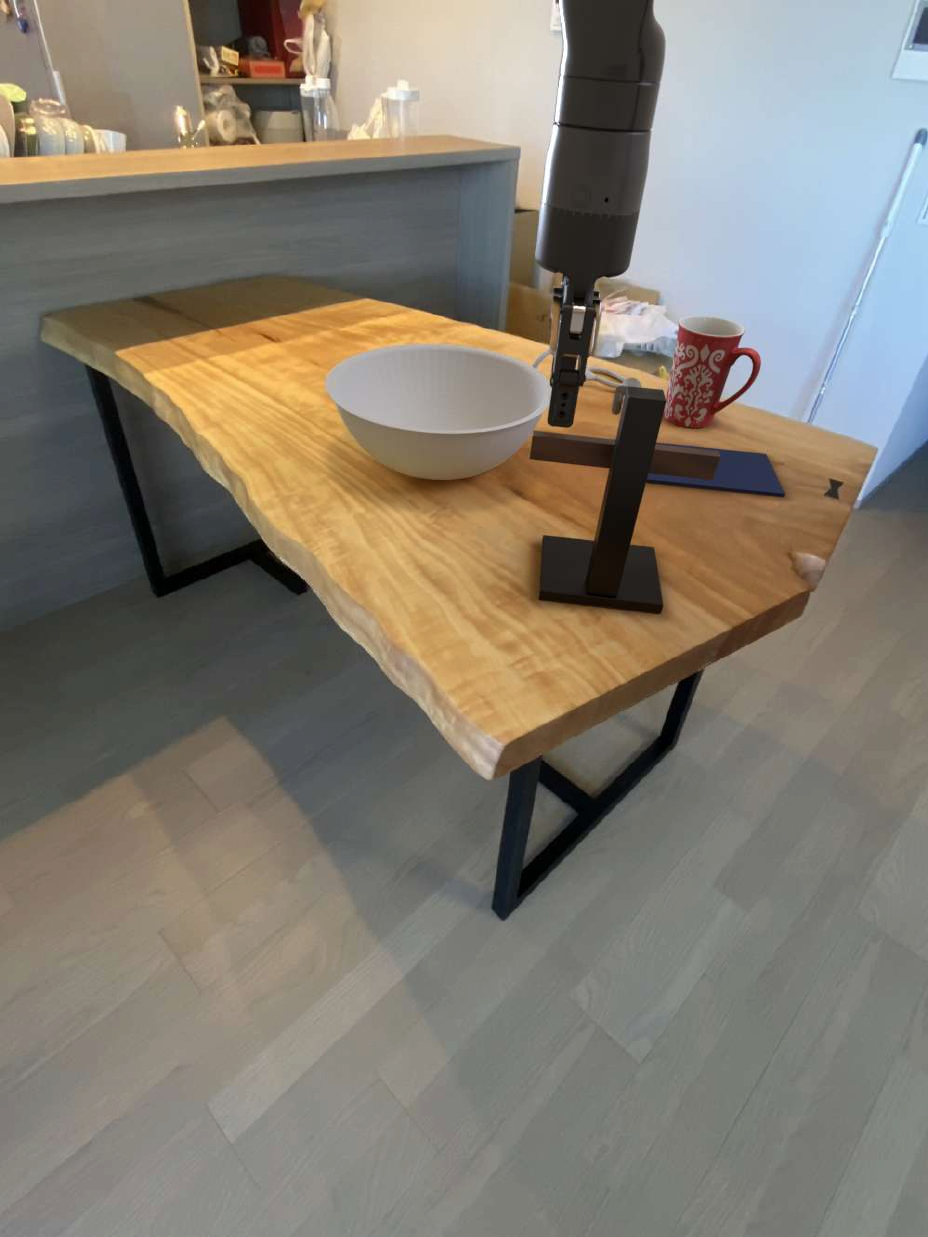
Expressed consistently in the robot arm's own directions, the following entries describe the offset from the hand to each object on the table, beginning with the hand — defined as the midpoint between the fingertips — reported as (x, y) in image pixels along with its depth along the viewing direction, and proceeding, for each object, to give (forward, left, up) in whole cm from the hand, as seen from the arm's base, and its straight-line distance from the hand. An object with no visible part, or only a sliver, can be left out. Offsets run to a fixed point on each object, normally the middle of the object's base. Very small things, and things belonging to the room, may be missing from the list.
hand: (560, 405), depth 62 cm
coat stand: (-6, +2, -17) cm, 18 cm away
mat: (-20, -25, -17) cm, 36 cm away
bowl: (+14, -20, -17) cm, 29 cm away
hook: (-4, -48, -17) cm, 51 cm away
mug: (-22, -40, -17) cm, 49 cm away
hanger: (-6, +1, -5) cm, 8 cm away
